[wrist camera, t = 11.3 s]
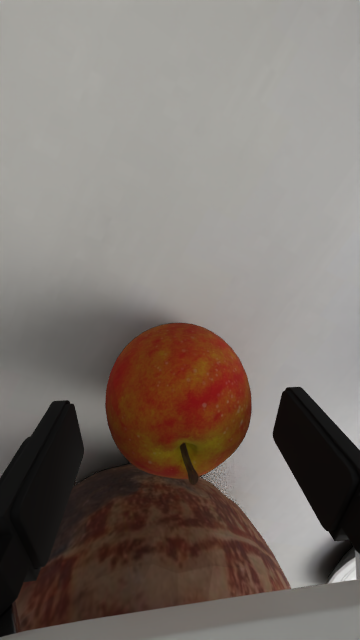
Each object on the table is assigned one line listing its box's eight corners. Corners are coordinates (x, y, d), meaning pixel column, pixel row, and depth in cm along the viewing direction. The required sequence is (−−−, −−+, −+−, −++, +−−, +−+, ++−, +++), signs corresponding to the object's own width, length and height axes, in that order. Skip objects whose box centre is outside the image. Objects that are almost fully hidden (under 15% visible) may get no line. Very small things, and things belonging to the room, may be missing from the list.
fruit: (198, 406, 16) (233, 554, 9) (105, 381, 14) (52, 539, 7) (243, 326, 14) (341, 436, 7) (140, 287, 12) (115, 374, 5)
